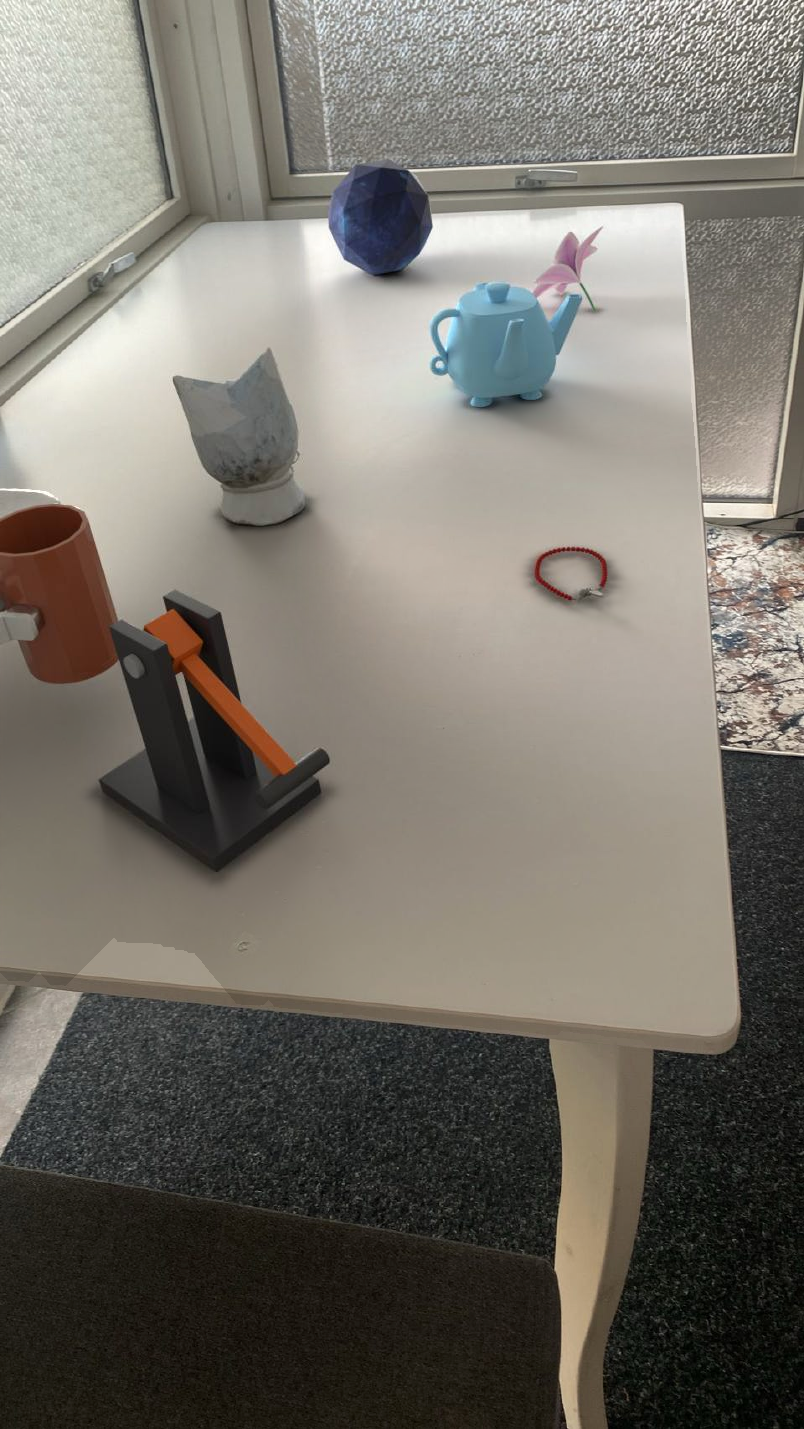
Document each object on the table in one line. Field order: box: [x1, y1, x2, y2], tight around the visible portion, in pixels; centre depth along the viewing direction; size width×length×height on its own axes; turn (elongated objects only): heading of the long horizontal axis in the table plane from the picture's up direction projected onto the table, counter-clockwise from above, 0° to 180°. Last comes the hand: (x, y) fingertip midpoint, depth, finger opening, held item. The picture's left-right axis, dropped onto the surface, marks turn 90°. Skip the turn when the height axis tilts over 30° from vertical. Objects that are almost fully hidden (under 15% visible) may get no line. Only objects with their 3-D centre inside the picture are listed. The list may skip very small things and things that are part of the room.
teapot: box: [429, 281, 583, 408], centre depth 119 cm, size 15×14×11 cm
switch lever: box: [142, 609, 331, 810], centre depth 66 cm, size 13×5×2 cm
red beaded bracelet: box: [534, 546, 608, 602], centre depth 90 cm, size 9×6×1 cm
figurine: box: [172, 346, 306, 527], centre depth 101 cm, size 10×9×15 cm
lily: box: [532, 226, 604, 311], centre depth 139 cm, size 12×12×10 cm
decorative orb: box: [327, 158, 434, 276], centre depth 156 cm, size 14×15×15 cm
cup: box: [0, 503, 119, 685], centre depth 75 cm, size 7×7×10 cm
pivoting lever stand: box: [98, 588, 322, 873], centre depth 70 cm, size 12×9×14 cm
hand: (66, 588), depth 74 cm, fingers closed on cup, 7 cm apart
